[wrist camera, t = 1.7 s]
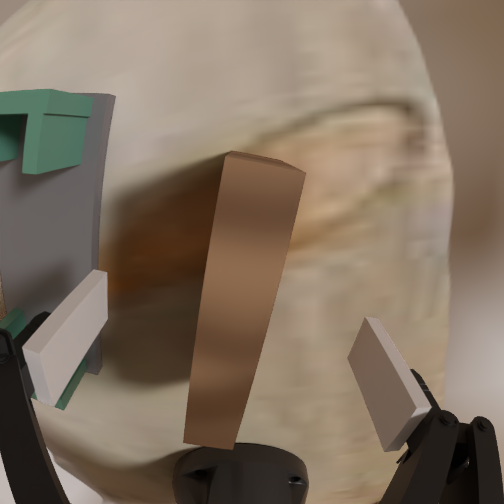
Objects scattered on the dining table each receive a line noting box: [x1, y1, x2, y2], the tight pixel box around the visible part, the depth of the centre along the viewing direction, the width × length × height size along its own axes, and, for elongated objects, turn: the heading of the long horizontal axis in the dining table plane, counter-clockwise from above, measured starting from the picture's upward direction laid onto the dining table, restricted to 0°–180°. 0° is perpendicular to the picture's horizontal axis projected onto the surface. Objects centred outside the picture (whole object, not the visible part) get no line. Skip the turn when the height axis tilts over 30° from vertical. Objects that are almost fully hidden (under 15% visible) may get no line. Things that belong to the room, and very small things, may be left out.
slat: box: [183, 151, 306, 450], centre depth 18 cm, size 16×3×8 cm, turn 169°
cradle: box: [0, 89, 116, 410], centre depth 17 cm, size 21×9×6 cm, turn 169°
